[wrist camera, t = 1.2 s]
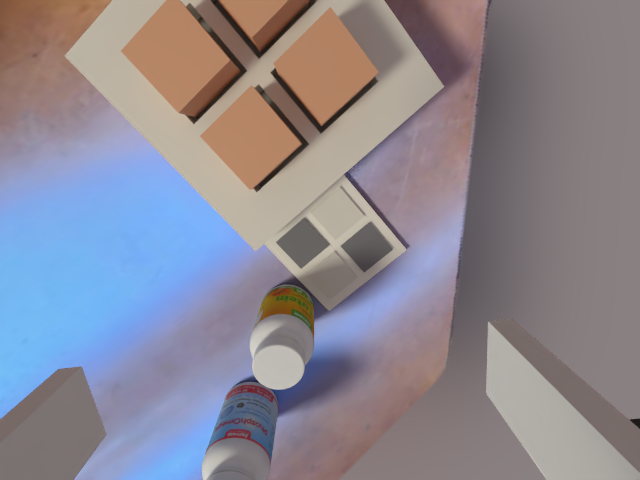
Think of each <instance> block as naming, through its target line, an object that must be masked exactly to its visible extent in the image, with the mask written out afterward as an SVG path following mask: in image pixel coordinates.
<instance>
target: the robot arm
mask: <svg viewBox="0 0 640 480" xmlns="http://www.w3.org/2000/svg"><path fill="white" fill-rule="evenodd" d="M487 352H488V353H487V387H486V394H487V395H488V396H489V398H490V399H491V401H492V402H493V404H494V405H495V407H496V408H497V409H498V411H499V412H500V414H501V415H502V416H503V418H504V419H505V421H506V422H507V424H508V425H509V427H510V428H511V429H512V431H513V432H514V434H515V435H516V437H517V438H518V439H519V441H520V442H521V444H522V445H523V446H524V448H525V449H526V451H527V452H528V454H529V455H530V457H531V458H532V460H533V461H534V462H535V464H536V465H537V467H538V468H539V470H540V471H541V472H542V474H543V475H544V477H545V478H546V480H640V419H631V420H629V419H628V418H626V417H625V416H624V415H623V414H622V413H621V412H620V411H618V410H617V409H616V408H615V407H614V406H613V405H612V404H610V403H609V402H608V401H607V400H606V399H605V398H603V397H602V396H601V395H600V394H599V393H598V392H597V391H595V390H594V389H593V388H592V387H591V386H590V385H588V384H587V383H586V382H585V381H584V380H583V379H582V378H580V377H579V376H578V375H577V374H576V373H575V372H573V371H572V370H571V369H570V368H569V367H568V366H567V365H565V364H564V363H563V362H562V361H561V360H560V359H558V358H557V357H556V356H555V355H554V354H553V353H551V352H550V351H549V350H548V349H547V348H546V347H545V346H543V345H542V344H541V343H540V342H539V341H538V340H536V339H535V338H534V337H533V336H532V335H531V334H530V333H528V332H527V331H526V330H525V329H524V328H523V327H521V326H520V325H519V324H518V323H517V322H516V321H515V320H513V319H505V320H496V321H488V350H487ZM105 436H106V432H105V429H104V426H103V424H102V421H101V418H100V415H99V413H98V410H97V407H96V404H95V402H94V399H93V396H92V394H91V391H90V388H89V385H88V383H87V380H86V377H85V374H84V372H83V369H82V367H73V368H64V369H58V370H57V371H56V372H55V373H53V374H52V375H51V376H50V377H49V378H48V379H46V380H45V381H44V382H43V383H42V384H41V385H40V386H38V387H37V388H36V389H35V390H34V391H33V392H31V393H30V394H29V395H28V396H27V397H26V398H25V399H23V400H22V401H21V402H20V403H19V404H18V405H17V406H15V407H14V408H13V409H12V410H11V411H10V412H8V413H7V414H6V415H5V416H4V417H3V418H2V419H0V480H74V479H75V477H76V476H77V474H78V473H79V472H80V470H81V469H82V468H83V466H84V465H85V463H86V462H87V461H88V459H89V458H90V457H91V455H92V454H93V452H94V451H95V450H96V448H97V447H98V445H99V444H100V443H101V441H102V440H103V439H104V437H105Z"/></svg>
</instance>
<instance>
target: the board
mask: <svg viewBox="0 0 640 480" xmlns="http://www.w3.org/2000/svg"><path fill="white" fill-rule="evenodd" d="M165 1H166V0H112V2H111V3H110V4H109V5H108V6H107V7H106V9H105V10H104V11H103V12H102V13H101V14H100V16H99V17H98V18H97V19H96V20H95V21H94V23H93V24H92V25H91V26H90V27H89V28H88V29H87V31H86V32H85V33H84V34H83V35H82V36H81V38H80V39H79V40H78V41H77V42H76V43H75V45H74V46H73V47H72V48H71V49H70V50H69V51H68V53H67V54H66V55H65V57H66V58H67V59H68V60H69V61H70V62H71V63H72V64H73V65H74V66H75V67H76V68H77V69H78V70H79V71H80V72H81V73H82V74H83V75H84V76H85V77H86V78H87V79H88V80H89V81H90V82H91V83H92V84H93V85H94V86H95V87H96V89H97V90H98V91H99V92H100V93H101V94H102V95H103V96H104V97H105V98H106V99H107V100H108V101H109V102H110V103H111V104H112V105H113V106H114V107H115V108H116V109H117V110H118V111H119V112H120V113H121V114H122V115H123V116H124V117H125V118H126V119H127V120H128V121H129V122H130V123H131V124H132V125H133V126H134V127H135V128H136V129H137V130H138V131H139V132H140V133H141V135H142V136H143V137H144V138H145V139H146V140H147V141H148V142H149V143H150V144H151V145H152V146H153V147H154V148H155V149H156V150H157V151H158V152H159V153H160V154H161V155H162V156H163V157H164V158H165V159H166V160H167V161H168V162H169V163H170V164H171V165H172V166H173V167H174V168H175V169H176V170H177V171H178V172H179V173H180V174H181V175H182V176H183V177H184V178H185V179H186V180H187V182H188V183H189V184H190V185H191V186H192V187H193V188H194V189H195V190H196V191H197V192H198V193H199V194H200V195H201V196H202V197H203V198H204V199H205V200H206V201H207V202H208V203H209V204H210V205H211V206H212V207H213V208H214V209H215V210H216V211H217V212H218V213H219V214H220V215H221V216H222V217H223V218H224V219H225V220H226V221H227V222H228V223H229V224H230V225H231V226H232V228H233V229H234V230H235V231H236V232H237V233H238V234H239V235H240V236H241V237H242V238H243V239H244V240H245V241H246V242H247V243H248V244H249V245H250V246H251V247H252V248H253V249H254V250H255V251H257V250H258V249H259V248H260V247H261V246H262V245H263V244H265V243H266V242H267V241H268V240H269V239H270V238H271V237H273V236H274V235H275V234H276V233H277V232H278V231H279V230H281V229H282V228H283V227H284V226H285V225H286V224H288V223H289V222H290V221H291V220H292V219H293V218H294V217H296V216H297V215H298V214H299V213H300V212H301V211H302V210H304V209H305V208H306V207H307V206H308V205H309V204H310V203H312V202H313V201H314V200H315V199H316V198H317V197H318V196H320V195H321V194H322V193H323V192H324V191H325V190H327V189H328V188H329V187H330V186H331V185H332V184H333V183H335V182H336V181H337V180H338V179H339V178H340V177H341V176H343V175H344V174H345V173H346V172H347V171H348V170H349V169H351V168H352V167H353V166H354V165H355V164H356V163H357V162H359V161H360V160H361V159H362V158H363V157H364V156H365V155H367V154H368V153H369V152H370V151H371V150H372V149H374V148H375V147H376V146H377V145H378V144H379V143H380V142H382V141H383V140H384V139H385V138H386V137H387V136H388V135H390V134H391V133H392V132H393V131H394V130H395V129H396V128H398V127H399V126H400V125H401V124H402V123H403V122H404V121H406V120H407V119H408V118H409V117H410V116H411V115H413V114H414V113H415V112H416V111H417V110H418V109H419V108H421V107H422V106H423V105H424V104H425V103H426V102H427V101H429V100H430V99H431V98H432V97H433V96H434V95H435V94H437V93H438V92H439V91H440V90H441V89H442V88H443V87H444V85H443V84H442V83H441V81H440V80H439V78H438V77H437V75H436V74H435V72H434V71H433V70H432V68H431V67H430V65H429V64H428V62H427V61H426V59H425V58H424V57H423V55H422V54H421V52H420V51H419V49H418V48H417V47H416V45H415V44H414V42H413V41H412V39H411V38H410V36H409V35H408V34H407V32H406V31H405V29H404V28H403V26H402V25H401V24H400V22H399V21H398V19H397V18H396V16H395V15H394V13H393V12H392V11H391V9H390V8H389V6H388V5H387V3H386V2H385V0H310V2H309V3H308V4H307V5H306V6H305V7H304V8H303V9H302V10H301V11H300V12H299V13H298V14H297V15H296V16H295V17H294V18H293V19H292V20H291V21H290V22H289V23H288V24H287V25H286V26H285V27H284V28H283V29H282V30H281V31H280V32H279V34H278V35H277V36H276V37H275V38H274V39H273V40H272V41H271V42H270V43H269V44H268V45H267V46H266V47H265V48H264V49H263V50H262V51H261V52H260V51H259V50H258V49H257V48H256V47H255V45H254V44H253V43H252V42H251V40H250V39H249V38H248V37H247V36H246V34H245V33H244V32H243V31H242V30H241V28H240V27H239V26H238V25H237V23H236V22H235V21H234V20H233V19H232V17H231V16H230V15H229V14H228V12H227V11H226V10H225V9H224V8H223V6H222V5H221V4H220V3H219V2H218V0H180V1H181V2H182V3H183V4H184V5H185V7H186V8H187V9H188V10H189V11H190V12H191V13H192V14H193V15H194V17H195V18H196V19H197V20H198V21H199V23H200V24H201V25H202V26H203V27H204V28H205V30H206V31H207V32H208V33H209V34H210V35H211V37H212V38H213V39H214V40H215V41H216V43H217V44H218V45H219V46H220V47H221V48H222V50H223V51H224V52H225V53H226V54H227V55H228V57H229V58H230V59H231V60H232V61H233V63H234V64H235V65H236V66H237V67H238V68H239V70H240V71H241V72H240V73H239V74H238V75H237V76H236V77H235V78H234V79H233V80H232V81H231V82H230V83H229V84H228V85H227V86H226V87H225V88H224V89H223V90H222V91H221V92H220V93H219V94H218V95H217V96H216V97H215V98H214V99H213V100H212V101H211V102H210V103H209V104H208V105H207V106H206V107H205V108H204V109H203V110H202V111H201V112H200V113H199V114H198V115H197V116H196V117H192V116H188V115H184V114H180V113H178V112H177V111H176V110H175V109H174V108H173V107H172V106H171V105H170V104H169V102H168V101H167V100H166V99H165V98H164V97H163V96H162V95H161V94H160V93H159V92H158V91H157V90H156V89H155V87H154V86H153V85H152V84H151V83H150V82H149V81H148V80H147V79H146V78H145V77H144V76H143V75H142V73H141V72H140V71H139V70H138V69H137V68H136V67H135V66H134V65H133V64H132V63H131V62H130V61H129V59H128V58H127V57H126V56H125V55H124V54H123V53H122V52H121V50H122V49H123V48H124V47H125V46H126V44H127V43H128V42H129V41H130V40H131V39H132V38H133V37H134V36H135V34H136V33H137V32H138V31H139V30H140V29H141V28H142V27H143V26H144V24H145V23H146V22H147V21H148V20H149V19H150V18H151V17H152V16H153V14H154V13H155V12H156V11H157V10H158V9H159V8H160V7H161V5H162V4H163V3H164V2H165ZM330 7H331V8H332V10H333V11H334V12H335V14H336V15H337V16H338V18H339V19H340V20H341V22H342V23H343V24H344V26H345V27H346V29H347V30H348V31H349V33H350V34H351V35H352V37H353V38H354V39H355V41H356V42H357V43H358V45H359V46H360V47H361V49H362V50H363V52H364V53H365V54H366V56H367V57H368V58H369V60H370V61H371V62H372V64H373V65H374V66H375V68H376V69H377V70H378V72H379V73H378V74H377V75H376V76H375V77H374V78H373V79H372V80H371V82H369V83H368V84H367V85H366V86H365V87H364V88H363V89H362V90H361V91H360V92H359V93H357V94H356V95H355V96H354V97H353V98H352V99H351V100H350V101H349V102H348V103H347V104H345V105H344V106H343V107H342V108H341V109H340V110H339V111H338V112H337V113H336V114H335V115H333V116H332V117H331V118H330V119H329V120H328V121H327V122H326V123H325V124H324V125H323V126H320V124H319V123H318V122H317V121H316V120H315V118H314V117H313V116H312V115H311V114H310V112H309V111H308V110H307V109H306V107H305V106H304V105H303V104H302V103H301V101H300V100H299V99H298V98H297V96H296V95H295V94H294V93H293V92H292V90H291V89H290V88H289V87H288V86H287V84H286V83H285V82H284V81H283V79H282V78H281V77H280V76H279V75H278V73H277V71H276V68H275V66H274V64H273V63H274V62H275V61H276V60H277V59H278V58H279V57H280V56H281V55H282V54H283V53H284V52H285V51H286V50H287V49H288V48H289V47H290V46H291V45H292V44H293V43H294V42H295V41H296V40H297V39H298V38H299V37H300V36H302V35H303V34H304V33H305V32H306V31H307V30H308V29H309V28H310V27H311V26H312V25H313V24H314V23H315V22H316V21H317V20H318V19H319V18H320V17H321V16H322V15H323V14H324V13H325V12H326V11H327V10H328V9H329V8H330ZM251 85H252V86H253V87H254V88H255V89H256V90H257V91H258V92H259V93H260V94H261V96H262V97H263V98H264V99H265V100H266V101H267V103H268V104H269V105H270V106H271V107H272V108H273V110H274V111H275V112H276V113H277V114H278V116H279V117H280V118H281V119H282V120H283V121H284V123H285V124H286V125H287V126H288V127H289V128H290V130H291V131H292V132H293V133H294V134H295V136H296V137H297V138H298V139H299V140H300V141H301V143H302V145H301V146H300V147H299V148H297V149H296V150H295V151H294V152H293V153H292V154H291V155H290V156H289V157H288V158H287V159H285V160H284V161H283V162H282V163H281V164H280V165H279V166H278V167H277V168H276V169H275V170H273V171H272V172H271V173H270V174H269V175H268V176H267V177H266V178H265V179H264V180H263V181H261V182H260V183H259V184H258V185H257V186H256V187H254V188H253V189H251V190H249V188H248V187H247V186H246V185H245V184H244V183H243V182H242V181H241V180H240V179H239V178H238V177H237V176H236V174H235V173H234V172H233V171H232V170H231V169H230V168H229V167H228V166H227V165H226V164H225V163H224V162H223V161H222V159H221V158H220V157H219V156H218V155H217V154H216V153H215V152H214V151H213V150H212V149H211V148H210V147H209V145H208V144H207V143H206V142H205V141H204V140H203V139H202V138H201V137H200V135H201V134H202V133H203V132H204V131H206V130H207V129H208V128H209V127H210V126H211V125H212V124H213V123H214V122H215V121H216V120H217V119H218V118H219V117H220V116H221V115H222V114H223V113H224V112H225V111H226V110H227V109H228V108H229V107H230V106H231V105H232V104H233V103H234V102H235V101H236V100H237V99H238V98H239V97H240V96H241V95H242V94H243V93H244V92H245V91H246V90H247V89H248V88H249V87H250V86H251Z"/></svg>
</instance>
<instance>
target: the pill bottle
mask: <svg viewBox="0 0 640 480" xmlns="http://www.w3.org/2000/svg"><path fill="white" fill-rule="evenodd" d="M277 415H278V401H277V398H276V396H275V394H274V392H273V391H272V390H271V389H270V388H268V387H266V386H264V385H262V384H261V383H258V382H244V383H240V384H238V385H236V386H234V387H233V388H232V389H231V390H230V391H229V392H228V394H227V395H226V398H225V400H224V403H223V406H222V409H221V411H220V414H219V417H218V420H217V423H216V425H215V428H214V431H213V434H212V437H211V439H210V442H209V445H208V448H207V450H206V453H205V456H204V459H203V463H202V475H203V479H204V480H267V478H268V475H269V471H270V465H271V457H272V450H273V443H274V436H275V429H276V422H277Z"/></svg>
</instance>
